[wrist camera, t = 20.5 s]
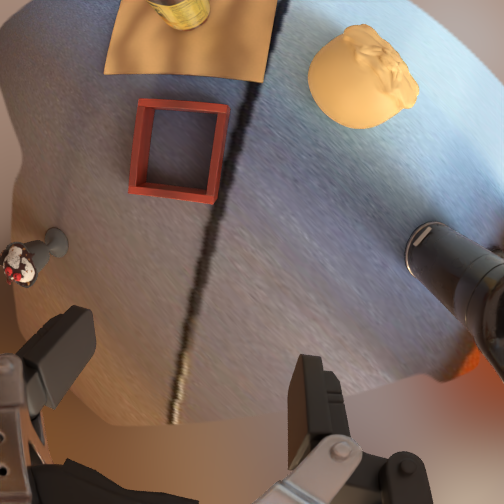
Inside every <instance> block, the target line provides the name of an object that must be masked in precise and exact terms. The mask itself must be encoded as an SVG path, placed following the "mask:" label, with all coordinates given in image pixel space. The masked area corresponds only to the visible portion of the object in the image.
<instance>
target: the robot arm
mask: <svg viewBox="0 0 504 504" xmlns="http://www.w3.org/2000/svg"><path fill="white" fill-rule="evenodd" d="M498 255H500V256H498ZM405 263H406V266H407V269H408V270H409V272H410V273H411V274H412V275H413V276H414V277H415V278H417V279H418V280H419V281H420V282H421V283H422V284H423V285H424V286H425V287H426V288H427V289H428V290H429V291H430V292H431V293H432V294H433V295H434V296H435V297H436V298H437V299H438V300H439V301H440V302H441V303H442V304H443V305H444V306H445V307H446V308H447V309H448V310H449V311H450V312H451V313H452V314H453V315H454V316H455V317H456V318H457V319H458V321H460V323H461V324H462V325H463V326H464V327H465V328H466V329H467V330H468V331H469V332H470V333H471V334H472V336H473V337H474V340H475V343H476V345H477V347H478V349H479V350H480V351H481V353H482V354H483V355H484V356H485V358H486V359H487V360H488V362H489V363H490V364H491V366H492V367H493V369H494V370H495V372H496V373H497V374H498V376H499V377H500V379H501V380H502V382H503V383H504V252H503V251H502V250H499V249H497V250H493V251H490V250H488V249H486V248H485V247H483V246H481V245H479V244H478V243H476V242H474V241H472V240H471V239H469V238H467V237H465V236H463V235H462V234H460V233H458V232H456V231H455V230H453V229H451V228H449V227H448V226H446V225H445V224H443V223H441V222H437V221H431V222H427V223H425V224H423V225H421V226H420V227H418V228H417V229H416V230H415V231H414V232H413V234H412V235H411V237H410V238H409V240H408V243H407V245H406V249H405ZM95 349H96V336H95V329H94V321H93V314H92V311H91V310H90V309H86V308H83V307H79V306H76V305H73V306H71V307H70V308H69V309H68V310H67V311H66V312H65V313H64V314H59V315H57V316H55V317H53V318H51V319H50V320H49V321H48V322H46V323H45V324H44V325H43V328H40V329H39V330H38V331H37V334H34V335H33V336H32V337H31V338H30V339H29V340H28V341H27V342H26V344H25V345H24V346H23V347H22V348H21V349H20V350H19V351H18V352H17V353H16V354H12V353H5V354H1V355H0V504H199V501H198V500H193V499H188V498H184V497H179V496H175V495H171V494H167V493H162V492H146V491H134V490H127V489H124V488H122V487H120V486H119V485H117V484H116V483H114V482H113V481H111V480H109V479H108V478H106V477H105V476H103V475H102V474H100V473H99V472H97V471H96V470H93V469H91V468H89V467H86V466H84V465H82V464H79V463H77V462H75V461H72V460H70V459H68V458H67V459H66V461H65V463H64V465H59V464H54V463H53V461H52V458H51V456H50V453H49V448H48V444H47V438H46V432H45V426H44V420H43V414H42V411H41V409H42V408H43V406H44V405H46V406H48V407H50V408H52V409H56V407H57V406H58V404H59V403H60V401H61V400H62V398H63V397H64V395H65V394H66V392H67V391H68V390H69V388H70V387H71V385H72V384H73V382H74V381H75V380H76V378H77V377H78V375H79V374H80V373H81V371H82V370H83V368H84V367H85V366H86V364H87V363H88V361H89V360H90V359H91V357H92V356H93V354H94V352H95ZM343 402H344V400H343V395H342V390H341V385H340V381H339V380H338V379H337V377H336V376H335V374H334V373H333V372H332V371H323V365H322V359H321V357H320V356H312V355H304V354H300V355H299V358H298V361H297V364H296V367H295V370H294V373H293V376H292V379H291V382H290V385H289V390H288V470H293V471H292V472H291V473H290V474H289V475H288V476H287V477H286V478H285V479H283V480H282V481H278V482H276V483H275V484H274V485H273V486H272V487H270V488H269V489H268V490H267V491H266V492H265V493H264V494H263V495H262V496H261V497H259V498H258V499H257V500H256V501H254V502H253V503H252V504H433V500H432V495H431V490H430V486H429V482H428V478H427V473H426V469H425V466H424V463H423V462H422V460H421V459H420V458H419V457H418V456H416V455H415V454H413V453H410V452H405V451H402V452H397V453H395V454H393V455H392V456H391V457H390V458H389V459H386V458H382V457H378V456H374V455H371V454H367V453H365V452H363V451H362V450H361V447H360V446H359V444H358V443H357V442H356V441H355V440H353V439H352V438H351V436H350V432H349V427H348V420H347V415H346V411H345V405H344V404H343Z"/></svg>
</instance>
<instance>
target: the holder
mask: <svg viewBox="0 0 504 504" xmlns="http://www.w3.org/2000/svg"><path fill="white" fill-rule="evenodd" d="M155 109H157V110H173V111H186V112H198V113H208V114H217V122H216V128H215V135H214V141H213V148H212V155H211V162H210V169H209V177H208V184H207V190H204V189H197V188H189V187H182V186H173V185H165V184H157V183H148V182H146V179H147V168H148V159H149V150H150V142H151V134H152V127H153V119H154V113H155ZM230 110H231V109H230V107H229V106H228V105H224V104H215V103H206V102H194V101H182V100H165V99H139V101H138V107H137V114H136V121H135V129H134V137H133V145H132V154H131V164H130V175H129V189H128V193H130V194H138V195H146V196H155V197H163V198H170V199H178V200H186V201H193V202H200V203H207V204H214V202H215V201H216V199H217V197H218V190H219V182H220V175H221V168H222V161H223V154H224V148H225V141H226V135H227V128H228V122H229V115H230Z"/></svg>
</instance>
